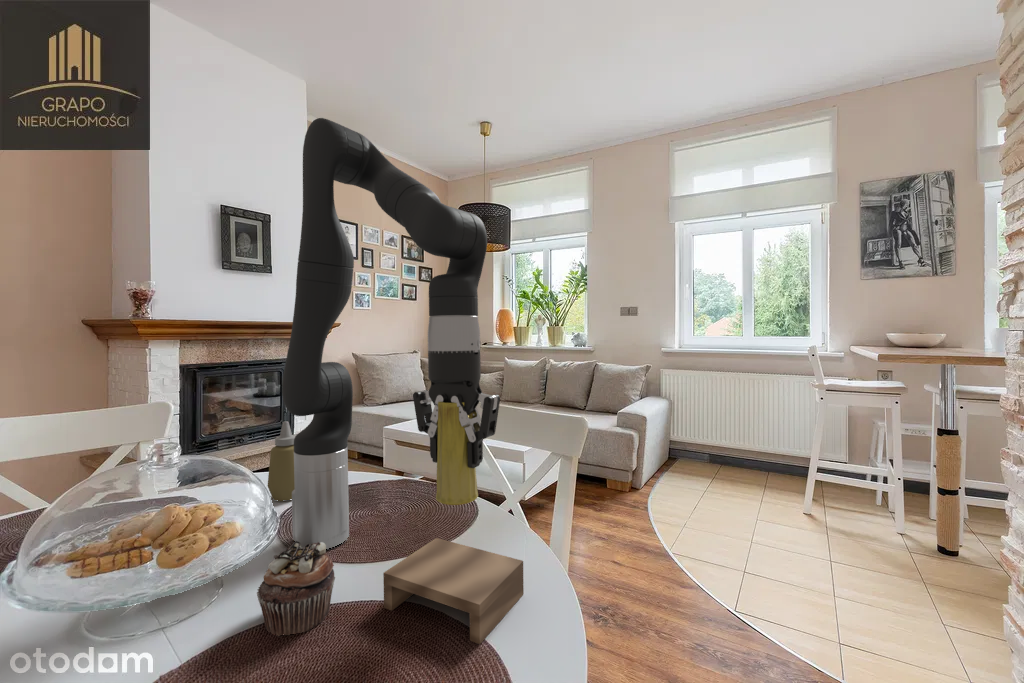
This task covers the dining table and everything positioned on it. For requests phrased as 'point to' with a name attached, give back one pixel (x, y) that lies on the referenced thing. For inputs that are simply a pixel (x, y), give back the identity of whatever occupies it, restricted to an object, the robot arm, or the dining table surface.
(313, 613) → the cupcake
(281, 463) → the squeeze bottle
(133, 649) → the dining table surface
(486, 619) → the walnut shelf
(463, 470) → the vase
